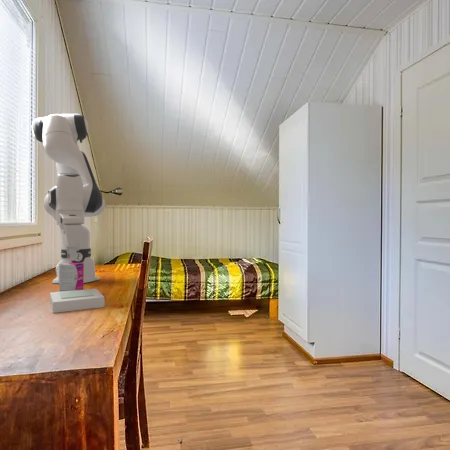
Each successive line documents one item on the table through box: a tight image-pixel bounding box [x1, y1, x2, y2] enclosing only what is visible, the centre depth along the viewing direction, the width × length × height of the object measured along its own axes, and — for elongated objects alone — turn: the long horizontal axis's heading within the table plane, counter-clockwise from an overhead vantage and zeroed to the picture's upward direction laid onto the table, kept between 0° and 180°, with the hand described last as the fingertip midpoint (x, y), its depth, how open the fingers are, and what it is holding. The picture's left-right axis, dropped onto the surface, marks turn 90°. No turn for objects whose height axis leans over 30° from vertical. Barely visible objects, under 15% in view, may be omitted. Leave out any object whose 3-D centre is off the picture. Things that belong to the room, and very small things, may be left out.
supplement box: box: [58, 263, 84, 292], centre depth 122 cm, size 6×6×12 cm
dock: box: [49, 288, 105, 314], centre depth 111 cm, size 17×14×3 cm
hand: (71, 259), depth 122 cm, fingers open, 8 cm apart
